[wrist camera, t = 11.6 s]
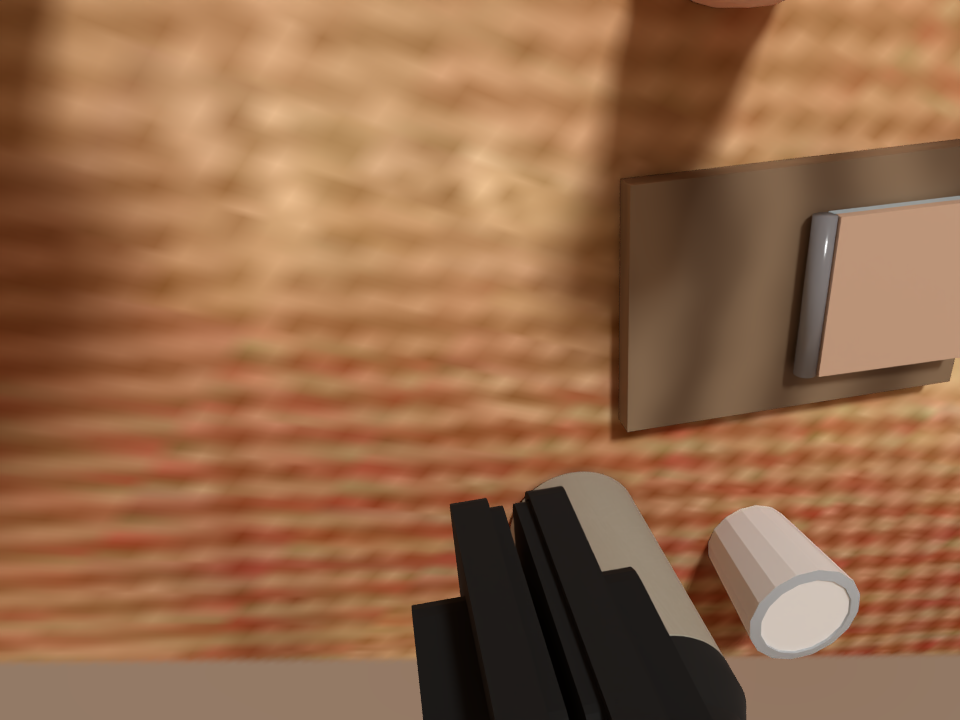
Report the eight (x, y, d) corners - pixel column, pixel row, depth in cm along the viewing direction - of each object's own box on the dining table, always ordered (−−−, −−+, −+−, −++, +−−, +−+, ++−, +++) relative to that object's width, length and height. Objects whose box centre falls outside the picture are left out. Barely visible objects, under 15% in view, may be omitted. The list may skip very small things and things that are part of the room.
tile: (970, 355, 41) (955, 347, 42) (1008, 197, 37) (991, 191, 38) (799, 379, 40) (788, 369, 41) (820, 219, 36) (807, 213, 37)
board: (618, 418, 43) (627, 431, 41) (620, 179, 37) (630, 185, 35) (931, 370, 45) (949, 381, 44) (983, 136, 39) (1005, 140, 37)
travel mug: (518, 468, 43) (617, 738, 27) (644, 468, 45) (809, 724, 29) (501, 573, 46) (582, 870, 30) (619, 570, 48) (756, 851, 32)
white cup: (788, 482, 47) (855, 554, 41) (802, 556, 50) (867, 634, 44) (688, 521, 47) (740, 599, 41) (709, 593, 50) (760, 676, 44)
